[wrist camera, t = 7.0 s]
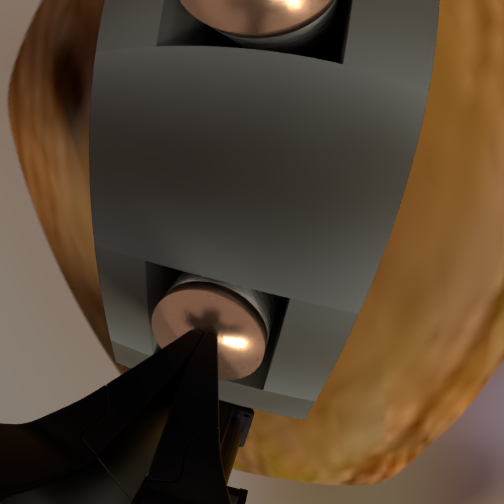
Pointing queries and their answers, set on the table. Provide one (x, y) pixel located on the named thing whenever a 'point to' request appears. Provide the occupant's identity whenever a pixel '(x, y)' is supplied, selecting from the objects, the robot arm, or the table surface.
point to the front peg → (270, 23)
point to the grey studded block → (252, 176)
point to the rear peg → (218, 320)
